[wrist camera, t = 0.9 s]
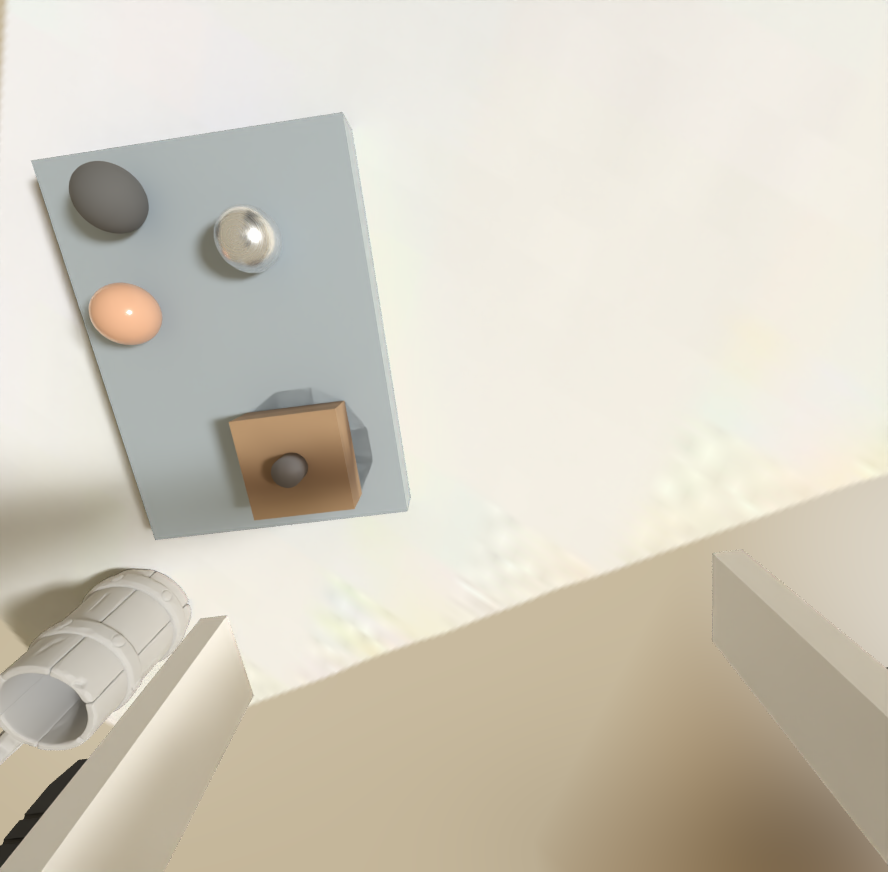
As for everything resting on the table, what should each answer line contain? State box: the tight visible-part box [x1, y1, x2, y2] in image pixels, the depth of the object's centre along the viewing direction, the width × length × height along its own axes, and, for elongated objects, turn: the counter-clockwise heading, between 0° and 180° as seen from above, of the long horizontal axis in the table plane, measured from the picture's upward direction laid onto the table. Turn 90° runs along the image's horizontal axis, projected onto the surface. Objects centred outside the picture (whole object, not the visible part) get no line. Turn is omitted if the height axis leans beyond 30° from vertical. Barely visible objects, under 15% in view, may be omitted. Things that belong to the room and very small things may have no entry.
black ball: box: [69, 161, 149, 234], centre depth 25 cm, size 4×4×4 cm
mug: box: [0, 569, 191, 765], centre depth 31 cm, size 8×12×12 cm, turn 133°
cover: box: [229, 401, 362, 521], centre depth 28 cm, size 6×6×4 cm
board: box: [31, 112, 411, 540], centre depth 30 cm, size 24×18×2 cm
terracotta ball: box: [89, 282, 162, 345], centre depth 26 cm, size 4×4×4 cm
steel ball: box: [214, 204, 283, 273], centre depth 25 cm, size 4×4×4 cm
